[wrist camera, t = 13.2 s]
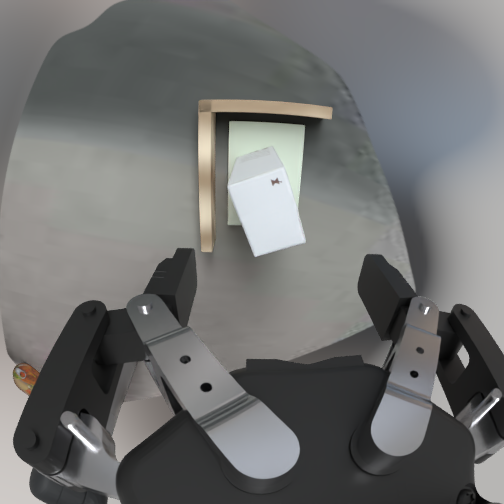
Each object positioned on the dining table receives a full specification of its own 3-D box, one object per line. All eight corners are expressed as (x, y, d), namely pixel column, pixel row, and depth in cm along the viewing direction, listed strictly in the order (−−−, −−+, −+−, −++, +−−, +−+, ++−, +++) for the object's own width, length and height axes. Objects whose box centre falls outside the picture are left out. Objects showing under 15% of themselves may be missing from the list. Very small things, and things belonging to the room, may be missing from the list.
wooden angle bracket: (309, 241, 34) (314, 255, 31) (206, 238, 33) (201, 251, 30) (323, 108, 26) (332, 107, 23) (205, 101, 26) (198, 100, 23)
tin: (61, 388, 55) (51, 410, 48) (59, 391, 57) (49, 412, 49) (20, 357, 50) (8, 377, 43) (20, 360, 51) (8, 380, 44)
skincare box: (235, 157, 28) (224, 184, 18) (272, 144, 28) (286, 164, 17) (253, 206, 31) (253, 259, 21) (289, 195, 30) (309, 243, 20)
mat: (295, 226, 33) (295, 227, 32) (228, 223, 32) (227, 224, 32) (304, 125, 27) (304, 125, 27) (229, 121, 27) (229, 121, 26)
